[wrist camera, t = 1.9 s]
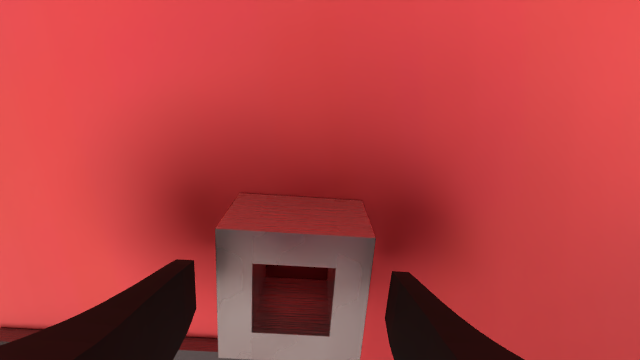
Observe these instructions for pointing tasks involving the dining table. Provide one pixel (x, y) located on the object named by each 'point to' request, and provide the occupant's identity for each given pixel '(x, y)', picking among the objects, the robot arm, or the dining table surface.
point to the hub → (288, 293)
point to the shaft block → (193, 356)
